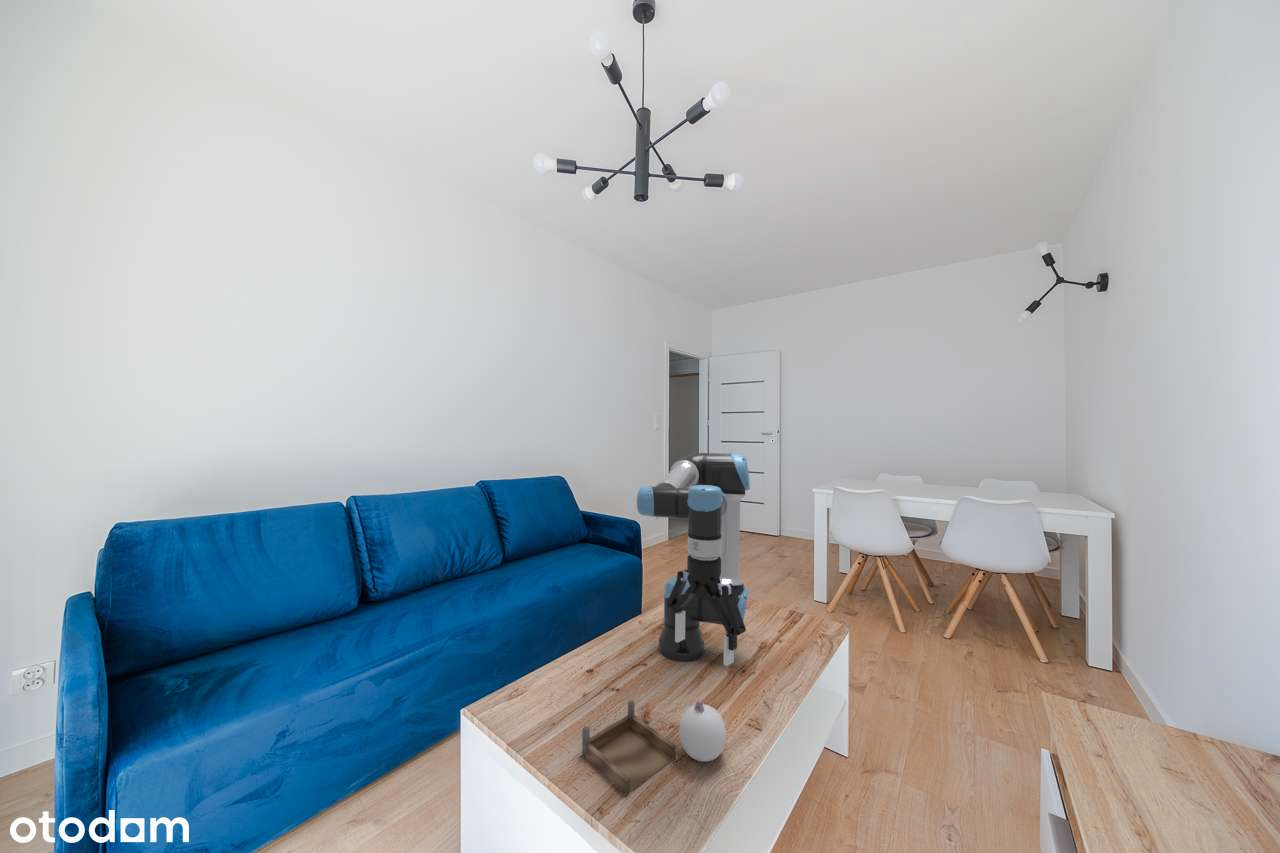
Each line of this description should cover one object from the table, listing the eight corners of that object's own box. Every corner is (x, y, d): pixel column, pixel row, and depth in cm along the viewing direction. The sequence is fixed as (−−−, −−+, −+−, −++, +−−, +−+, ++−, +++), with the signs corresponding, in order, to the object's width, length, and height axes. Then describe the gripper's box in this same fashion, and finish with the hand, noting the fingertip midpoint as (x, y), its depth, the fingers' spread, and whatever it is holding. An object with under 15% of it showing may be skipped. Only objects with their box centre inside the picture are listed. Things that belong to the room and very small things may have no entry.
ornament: (673, 764, 93) (674, 709, 93) (685, 733, 103) (686, 683, 103) (721, 779, 90) (721, 721, 90) (729, 745, 99) (729, 693, 99)
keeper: (580, 755, 95) (581, 728, 96) (631, 724, 106) (631, 699, 106) (625, 797, 85) (625, 767, 85) (676, 758, 95) (676, 730, 95)
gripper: (652, 547, 103) (651, 636, 103) (743, 573, 85) (741, 681, 85) (673, 541, 108) (672, 627, 108) (763, 565, 90) (762, 667, 90)
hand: (703, 651), depth 96 cm, fingers open, 13 cm apart
